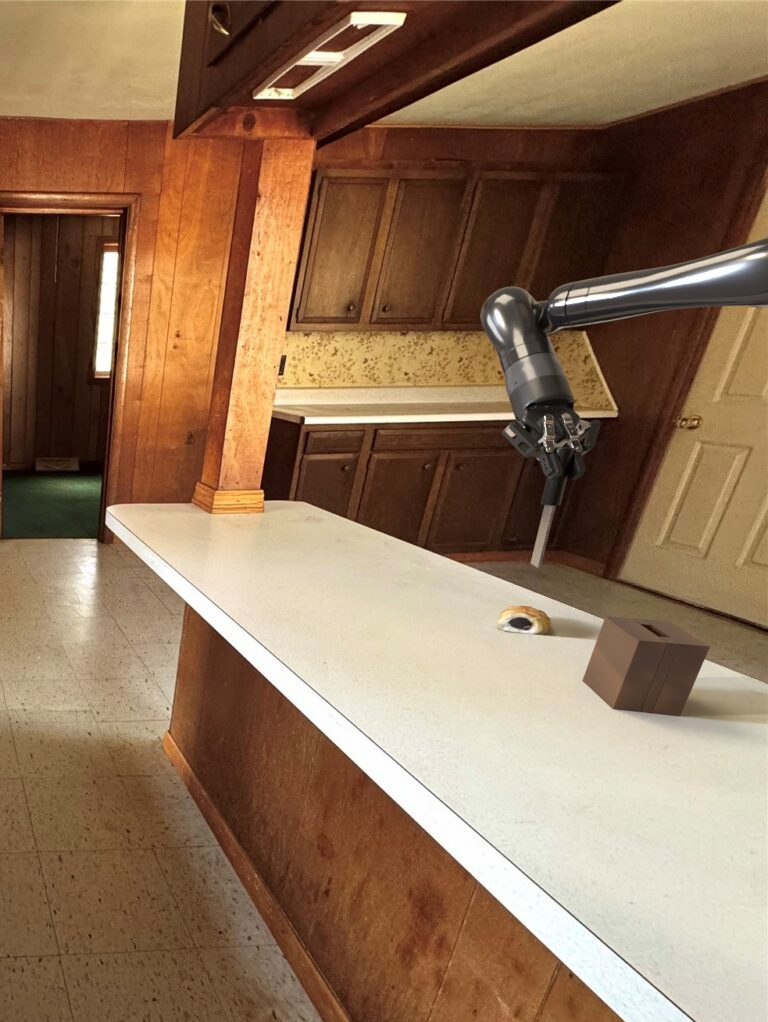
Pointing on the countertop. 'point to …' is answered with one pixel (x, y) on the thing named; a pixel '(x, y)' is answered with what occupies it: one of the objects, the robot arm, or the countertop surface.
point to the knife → (551, 503)
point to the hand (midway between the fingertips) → (566, 476)
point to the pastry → (524, 620)
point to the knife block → (644, 665)
